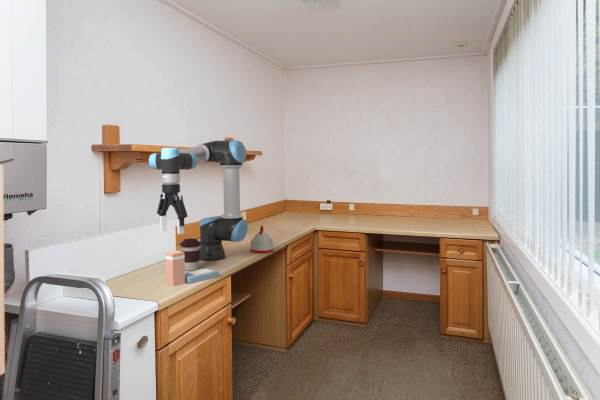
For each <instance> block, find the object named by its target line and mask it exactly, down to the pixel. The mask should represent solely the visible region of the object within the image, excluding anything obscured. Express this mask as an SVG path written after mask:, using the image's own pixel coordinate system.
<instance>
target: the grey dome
mask: <svg viewBox="0 0 600 400" xmlns="http://www.w3.org/2000/svg"><path fill="white" fill-rule="evenodd" d="M249 246H250V247H249V251H251V252H250V253H252V252H255V253H254V254H269V253H273V252H274V243H273V239H271V237H270V236H269V234H267V233H266V232H265V231H264V226H263V225H261V226H260V228H259V231H258V232H257V233H255V234H254V236H253V238H252V239H251V240H250V245H249Z"/></svg>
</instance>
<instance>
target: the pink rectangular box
mask: <svg viewBox="0 0 600 400" xmlns="http://www.w3.org/2000/svg"><path fill="white" fill-rule="evenodd" d="M184 258H185V255H184V252H182V251H181V250H173V251H168V252H166V253H165V262H166V263H165V266H166V269H165V271H166V284H167V285H169V286H172V287H175V286H179V285H184V284H186V283H185V272H186V270H185V259H184Z"/></svg>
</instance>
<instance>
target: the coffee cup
mask: <svg viewBox="0 0 600 400" xmlns="http://www.w3.org/2000/svg"><path fill="white" fill-rule="evenodd" d="M200 245H201V242H200V240H198V239H197V238H184V239H182V242H180V243H179V246H180V247H181V250H180V251H182V252H184V255H185V258H184V259H185V271H187V272H190V271H194V270H199V269H200V268H199V264H200V260H199V256H200V249H199V248H200Z"/></svg>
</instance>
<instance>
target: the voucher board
mask: <svg viewBox="0 0 600 400" xmlns="http://www.w3.org/2000/svg"><path fill="white" fill-rule="evenodd" d="M218 277H220V271H219V270H215V269H211V268H207V267H205V268H204V267H203V268H201V269H200V268H198V269H197V270H191V271H185V283H184V284H187V285H189V284H190V285H191V284H194V282H195V283H198V281H199V282H203V281H206V280H211V279H215V278H218Z"/></svg>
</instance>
